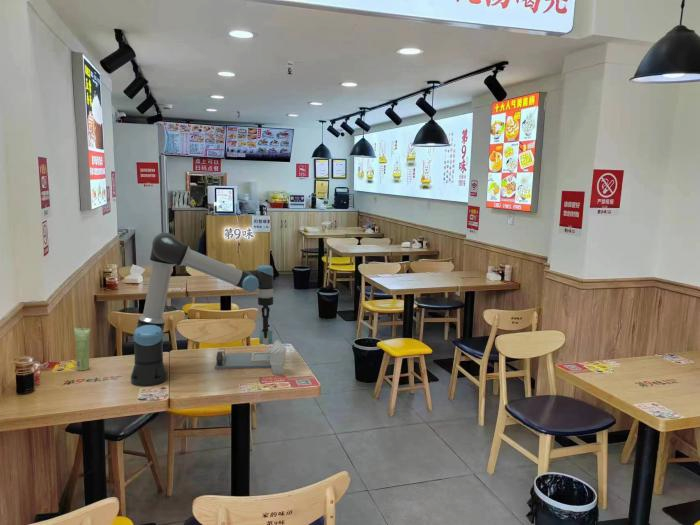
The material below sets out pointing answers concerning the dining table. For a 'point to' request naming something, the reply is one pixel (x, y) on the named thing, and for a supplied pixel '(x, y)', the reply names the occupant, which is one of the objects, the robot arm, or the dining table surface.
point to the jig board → (245, 360)
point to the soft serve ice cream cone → (277, 357)
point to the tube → (82, 348)
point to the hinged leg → (220, 356)
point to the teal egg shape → (268, 337)
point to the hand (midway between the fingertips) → (265, 341)
